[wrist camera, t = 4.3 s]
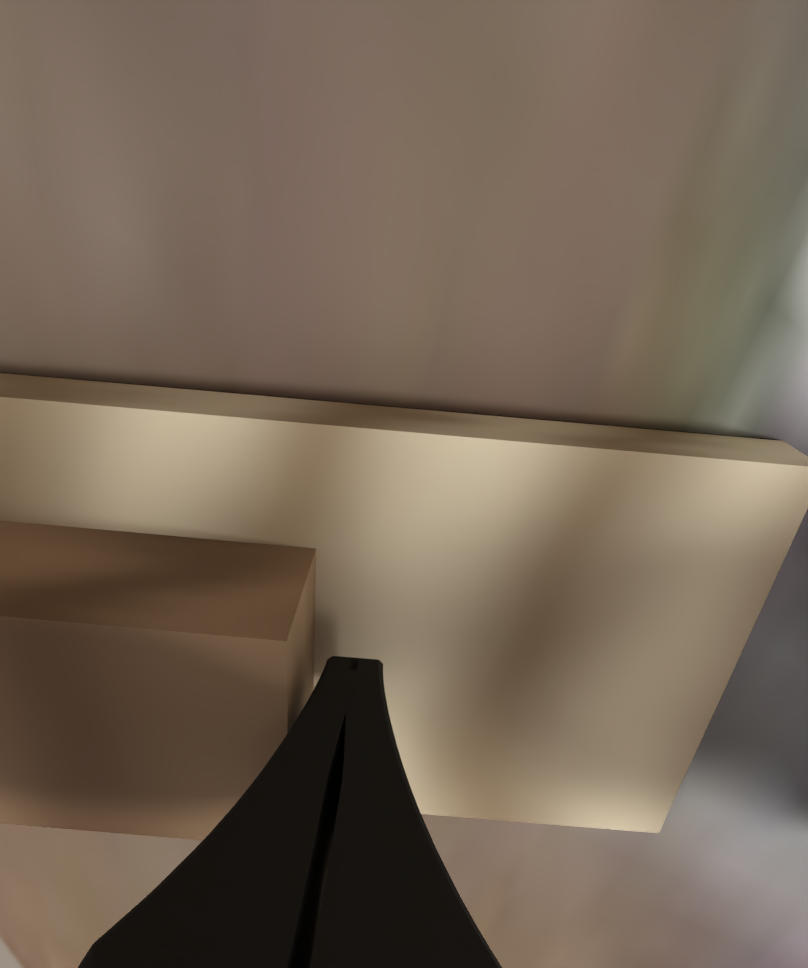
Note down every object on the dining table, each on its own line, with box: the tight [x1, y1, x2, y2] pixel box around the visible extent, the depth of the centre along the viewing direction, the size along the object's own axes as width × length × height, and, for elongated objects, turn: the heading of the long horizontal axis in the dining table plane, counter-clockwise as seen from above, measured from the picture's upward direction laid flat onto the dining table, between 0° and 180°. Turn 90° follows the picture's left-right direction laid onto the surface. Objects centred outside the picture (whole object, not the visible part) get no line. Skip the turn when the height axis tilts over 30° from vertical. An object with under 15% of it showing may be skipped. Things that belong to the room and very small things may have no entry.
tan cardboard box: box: [0, 521, 316, 840], centre depth 12 cm, size 8×6×3 cm
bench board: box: [0, 373, 808, 833], centre depth 14 cm, size 22×12×2 cm, turn 85°
